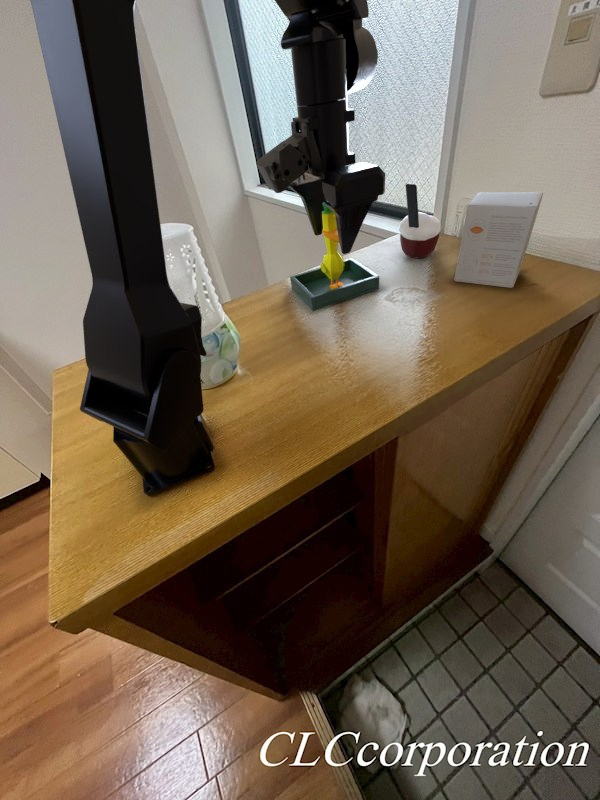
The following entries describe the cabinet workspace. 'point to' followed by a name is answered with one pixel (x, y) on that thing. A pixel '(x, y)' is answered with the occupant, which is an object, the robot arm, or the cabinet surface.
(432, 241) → the red dessert cup
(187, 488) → the cabinet surface
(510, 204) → the small box
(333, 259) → the toy figure
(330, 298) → the tray
